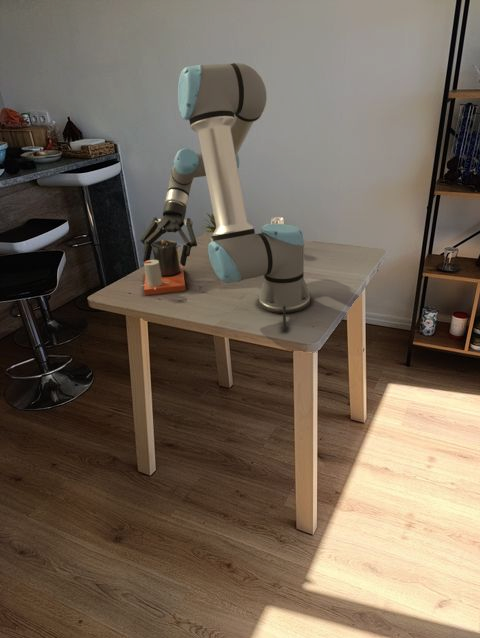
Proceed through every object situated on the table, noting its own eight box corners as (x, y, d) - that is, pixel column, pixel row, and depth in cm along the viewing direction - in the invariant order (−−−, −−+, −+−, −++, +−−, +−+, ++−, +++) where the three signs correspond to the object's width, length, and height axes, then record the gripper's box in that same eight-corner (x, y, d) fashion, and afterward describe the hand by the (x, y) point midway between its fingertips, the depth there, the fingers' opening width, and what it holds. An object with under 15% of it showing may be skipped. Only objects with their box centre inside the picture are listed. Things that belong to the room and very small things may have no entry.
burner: (182, 275, 162) (182, 274, 162) (155, 278, 161) (154, 277, 160) (181, 265, 170) (181, 265, 169) (155, 268, 168) (155, 268, 168)
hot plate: (185, 291, 155) (184, 285, 154) (141, 297, 153) (140, 290, 152) (183, 270, 171) (182, 264, 170) (143, 275, 169) (142, 269, 168)
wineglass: (282, 246, 188) (281, 216, 182) (288, 250, 183) (287, 219, 177) (268, 249, 186) (267, 218, 180) (274, 253, 182) (273, 222, 175)
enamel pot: (181, 274, 162) (176, 242, 156) (156, 277, 161) (150, 244, 155) (180, 265, 169) (175, 234, 163) (156, 268, 168) (150, 237, 162)
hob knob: (162, 280, 159) (158, 258, 155) (162, 286, 155) (158, 263, 151) (147, 282, 158) (143, 259, 154) (147, 287, 154) (143, 264, 150)
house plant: (204, 245, 193) (199, 204, 185) (238, 244, 193) (235, 203, 184) (200, 258, 181) (195, 215, 173) (236, 256, 181) (233, 213, 172)
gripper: (212, 212, 166) (202, 269, 162) (147, 211, 172) (135, 266, 168) (205, 201, 159) (194, 260, 155) (138, 200, 165) (125, 257, 161)
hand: (164, 263), depth 161 cm, fingers open, 13 cm apart
